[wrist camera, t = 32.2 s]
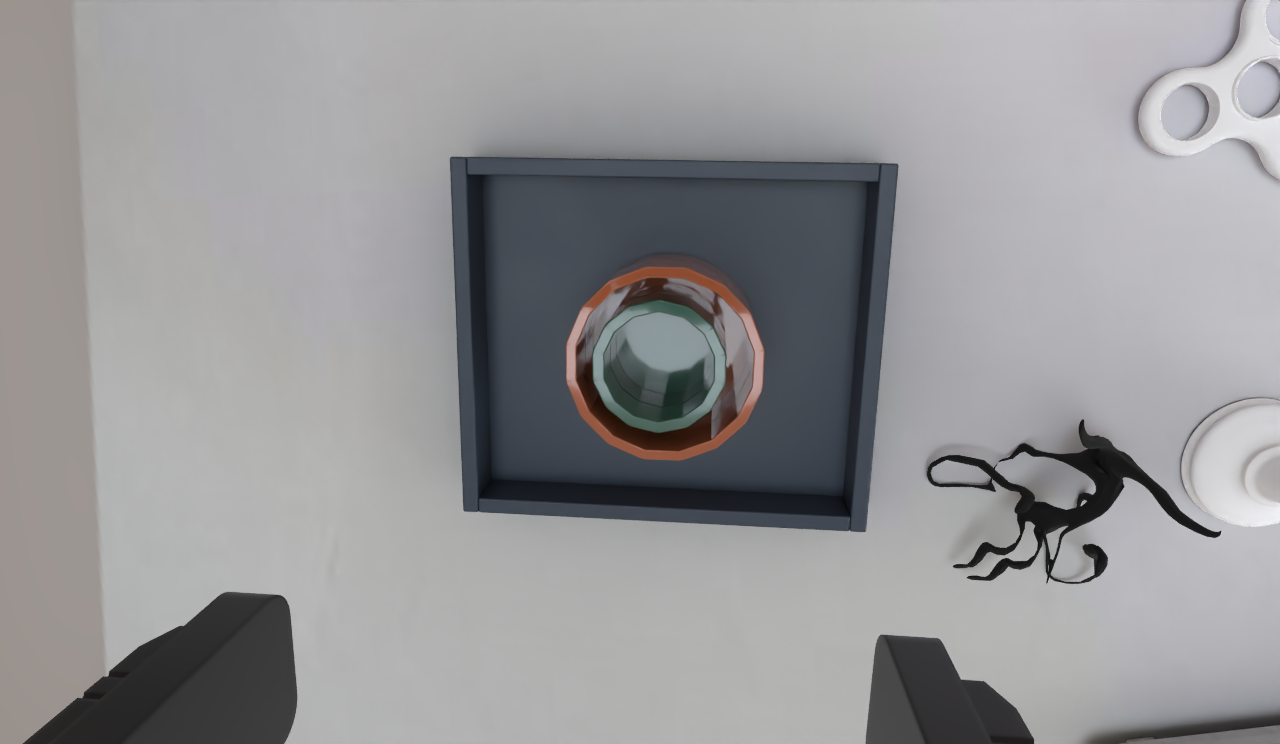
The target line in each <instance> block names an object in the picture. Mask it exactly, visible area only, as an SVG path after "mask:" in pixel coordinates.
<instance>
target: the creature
mask: <svg viewBox="0 0 1280 744" xmlns="http://www.w3.org/2000/svg"><path fill="white" fill-rule="evenodd" d="M1079 436H1080V439H1081V442H1082V444H1083V446H1084V447H1085V448H1088V449H1087V450H1084V451H1082V452H1080V453H1069V454H1053V453H1047V452H1043V451H1039V450H1036V449H1034V448H1033V447H1031V446H1030V445H1027V444H1021V445H1019V447H1018V448H1017V449H1016V450H1015V451H1014V452H1013V454H1012V455H1011V456H1010V457H1008V458H1005V459H1002V460H1000V461H999V462H1001V461H1005V460H1009V459H1013V458H1014V457H1015V456H1017V455H1018V454H1019V453H1021V452H1026V453H1028V454H1030V455H1031V456H1033V457H1049V458H1054V459H1057V460H1059V461H1062V462H1064V463H1067V464H1069V465H1071V466H1073V467H1074V468H1076V469H1078V470H1079V471H1081V472H1083V473H1085V474H1086V475H1088V476H1089V477H1090V478H1091V479H1092V480H1093V481H1094V483H1095V485H1096V492H1095V493H1094V494H1093V495H1091V494H1089V493H1082V494H1080V495H1079V498H1078V500H1077V508H1073V509H1069V510H1065V509H1061V508H1057V507H1054V506H1052V505H1050V504H1048V503H1046V502H1036V501H1034V500H1035V496H1034V494H1033V493H1032V492H1031V491H1029V490H1028V489H1026V488H1025V487H1023V486H1020V485H1016V484H1012V483H1010V482H1008V481H1007V480H1006V479H1005V478H1004V477H1003V476H1002V475H1000V474H999V473H998V472H997V471H996V470H995V467H996V466H997V464H998V463H997V464H996V466H995V467H994V468H993V467H992V466H991V465H989V464H988V463H987V462H986V461H984V460H980V459H975V458H971V457H966V456H961V455H948V456H944V457H941V458H939V459H937V460H935V461H934V462H932V463H931V464H930V465H929V467H928V471H927V477H928V480H929V481H930V483H931V484H933V485H934V486H938V487H975V488H981V489H986V490H991V491H993V492H996V490H995V488H994V486H993V484H992V479H993V480H994V481H995V482H997V483H998V484H999V485H1000V486H1002V487H1004V488H1006V489H1008V490H1010V491H1016V492H1019V493H1020V494H1021V496H1022V497H1021V499H1020V501H1019V502H1018V503H1017V505H1016V507H1015V513H1017V521H1018V524H1019V527H1020V535H1019V537H1018V539H1017V541H1016V543H1014V544H1012V545H1010V546H1009V547H1007V548H999V547H995V546H993V545H991V544H990V543H988V542H985V543H982V544H981V545H980V547H979V548H978V550H977V552H976V554H975V556H974V558H973V559H972V560H971V561H970V562H969V563H968V564H966V565H965V564H956V565H954V566H953V567H954V568H967V567H974V566H975V565H977V564H978V563H979V562H980V561H981V560H982V559H983V558H984V556H985V555H986V554H987V553H988V552H992V553H994V554H997V555H1006V554H1008V553H1010V552H1012V551H1013V550H1015V548H1016V546H1017V545H1018V543H1019V542H1020V540H1021V537H1022V534H1023V532H1024V529H1025V522H1026V521H1031V522H1032V523H1033V524H1034V525H1035V528H1034V534H1035V537H1036V539H1037V541H1038V548H1037V551H1036V553H1035V555H1034V556H1033V557H1031V558H1030V559H1029V560H1028V561H1012V560H1010V559H1009V558H1005V559H1002V560H1001V561H999V562H998V563H997V565H996V566H995V567H994V569H993V570H992V572H991V573H990V574H989V575H988V576H986V577H980V576H968V577H967V578H968V579H971V580H985V581H991V580H993V579H995V578H996V577H997V576H999V575H1000V574H1002V573H1003V572H1004V571H1005V570H1006V568H1007V567H1008V566H1009V567H1011V568H1013V569H1019V570H1021V569H1024V568H1027V567H1030V566H1031V564H1032V563H1033V561H1034V560H1035V559H1036V557H1037V555H1038V553H1039V550H1040V548H1041V547H1042V542H1043V539H1044V542H1045V545H1046V573H1047V575H1048V578H1047V582H1048V580H1049V577H1050V578H1051V579H1052V580H1054V581H1057V582H1062V583H1068V584H1080V583H1085V582H1089V581H1091V580H1092V579H1094V578H1097V577H1098V576H1100V575H1101V574H1102V573H1103V572H1104V570H1105V568H1106V567H1107V562H1108V557H1107V555H1106V554H1105V552H1104V551H1103V550H1102V549H1101V548H1100V547H1099V546H1096V545H1094V544H1088V545H1086V544H1085V545H1083V550H1084V552H1085V554H1086V555H1088V556H1089V557H1091V558H1093V559H1094V571H1095V572H1094V574H1095V575H1093V576H1091V577H1089V578H1087V579H1085V580H1083V581H1081V582H1064V581H1061V580H1058V579H1055V578H1053V577H1052V576H1051V575H1050V574H1051V571H1052V569H1053V566H1054V563H1055V560H1056V558H1057V555H1058V552H1059V549H1060V544H1061V540H1062V537H1063V536H1064V535H1065V534H1066V533H1068V532H1069V531H1071V530H1073V529H1075V528H1077V527H1079V526H1081V525H1084V524H1086V523H1088V522H1090V521H1092V520H1094V519H1096V518H1098V517H1099V516H1101V515H1102V514H1104V513H1105V512H1106V511H1107V510H1108V509H1109V508H1110V507H1111V506H1112V504H1113V503H1114V501H1115V500H1116V499H1117V497H1118V496H1119V494H1120V493H1121V491H1122V490H1123V488H1124V484H1123V478H1124V477H1128V478H1131V479H1133V480H1135V481H1137V482H1139V483H1141V484H1142V485H1144V486H1145V487H1146V488H1147V489H1148V490H1149V491H1150V492H1151V493H1152V495H1153V496H1154V497H1155V499H1156V500H1157V501H1158V503H1159V504H1160V505H1161V507H1162V508H1163V509H1164V510H1165V511H1166V513H1167V514H1168V515H1169V516H1171V517H1172V518H1173V519H1174V520H1175V521H1177V522H1178V523H1179V524H1181V525H1183V526H1185V527H1187V528H1189V529H1191V530H1193V531H1195V532H1197V533H1199V534H1202V535H1204V536H1207V537H1213V538H1216V537H1218V536H1220V534H1221V531H1220V532H1214V531H1211V530H1208V529H1206V528H1205V527H1203V526H1201V525H1199V524H1198V523H1196V522H1195V521H1193V520H1192V519H1190V518H1189V517H1188V516H1186V515H1185V514H1184V513H1182V512H1181V511H1180V510H1179V508H1178V507H1177V506H1176V504H1175V503H1174V501H1173V500H1172V499H1171V497H1170V496H1169V494H1168V493H1167V492H1166V491H1165V490H1164V489H1163V488H1162V487H1161V486H1160V485H1158V484H1157V483H1156V482H1155V481H1154V480H1153V479H1151V478H1150V477H1149V476H1148V475H1147V474H1146V473H1145V472H1144V471H1143V470H1142V469H1141V468H1140V467H1139V466H1138V465H1137V464H1136V463H1135V462H1134V460H1133V459H1132V458H1131V457H1130V456H1129V455H1127V454H1126V453H1124V452H1122V451H1119V450H1117V449H1116V448H1115V447H1114V446H1113V445H1112V443H1111V442H1110V441H1109V440H1108V439H1106V438H1104V437H1100V436H1098V435H1097V436H1090V435H1088V434H1087V432H1086V430H1085V427H1084V420H1081V422H1080V424H1079ZM945 460H950V461H954V462H959V463H964V464H969V465H973V466H978V467H979V468H981V469H982V470H983V471H984V472H986V473H987V474H988V475H989V476H990V477H991V480H990V482H989V483H988V484H987V485H969V484H938V483H936V482H934V481H933V479H932V476H931V470H932V467H934V466H936V465H937V464H939V463H941V462H943V461H945ZM1083 500H1086V501H1087V502H1086V503H1085V504H1084V505H1083V506H1081V503H1082V501H1083ZM1063 526H1068V527H1067V528H1066V529H1065V530H1064V531H1063V532H1062V533H1061V534H1060V537H1059V543H1058V548H1057V551H1056V554H1055V557H1054V559H1053V560H1052V559H1050V552H1049V548H1048V543H1047V538H1046V534H1047V533H1050V532H1053V531H1055V530H1057V529H1058V528H1061V527H1063ZM1048 565H1049V572H1048ZM1047 582H1046V583H1047Z"/></svg>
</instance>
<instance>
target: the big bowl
mask: <svg viewBox="0 0 1280 744" xmlns="http://www.w3.org/2000/svg"><path fill="white" fill-rule="evenodd" d="M657 285H674V286H679V287H683V288H686V289H689V290H691V291H693V292H695V293H696V294H698V295H699V296H701V297H702V298H703V299H705V300H706V301H707V302H708V303H709V304H710V306H711V307H712V308H713V309H714V311H715V312H716V314H717V315H718V317H719V320H720V322H721V325H722V328H723V330H724V332H725V340H726V383H725V386H724V388H723V390H722V392H721V394H720V396H719V397H718V399H717V401H716V403H715V405H714V407H713V409H712V410H711V411H710V412H709V413H707V414H706V415H704V416H703V417H702V418H700V419H699V420H697V421H696V422H695V423H693V424H692V425H691V426H689V427H687V428H683V429H678V430H672V431H667V432H662V433H656V432H652V431H648V430H644V429H640V428H635V427H631V426H630V425H627V424H626V423H625V422H624V421H622V420H621V419H620V418H618V417H617V416H616V415H615V414H613V413H612V412H611V411H610V410H608V409H607V408H606V406H605V405H604V403H603V401H602V399H601V397H600V395H599V393H598V391H597V389H596V387H595V385H594V383H593V379H592V352H593V348H594V346H595V344H596V342H597V340H598V338H599V336H600V334H601V332H602V330H603V328H604V326H605V324H606V323H607V321H608V320H609V319H610V317H611V316H612V314H613V313H614V312H615V310H616V309H617V308H618V306H620V305H621V304H622V303H623V302H624V301H625V300H626V299H628V298H629V297H630V296H632V295H633V294H635V293H636V292H638V291H640V290H642V289H645V288H648V287H651V286H657ZM764 357H765V351H764V346H763V342H762V339H761V335H760V331H759V328H758V325H757V322H756V319H755V317H754V314H753V311H752V308H751V306H750V303H749V300H748V298H747V296H746V294H745V293H744V292H743V291H742V289H741V288H740V287H739V286H738V285H737V283H736V282H735V281H734V280H733V279H732V278H731V277H730V276H729V275H728V274H727V273H725V272H724V271H723V270H722V269H720V268H718V267H717V266H715V265H713V264H711V263H709V262H708V261H705V260H703V259H700V258H697V257H694V256H690V255H685V254H675V253H670V254H655V255H651V256H648V257H645V258H642V259H639V260H637V261H635V262H632V263H630V264H628V265H626V266H623V267H622V268H620V269H619V270H618V271H617V272H616V273H615V274H614V275H613V276H612V277H611V278H610V279H609V280H608V281H607V282H606V283H605V284H604V285H603V286H602V287H601V288H600V289H599V290H598V291H597V292H596V293H595V294H594V295H593V296H592V297H591V298H590V299H589V300H588V301H587V302H586V303H585V304H584V305H583V306H582V307H581V309H580V311H579V313H578V315H577V318H576V320H575V323H574V325H573V327H572V330H571V332H570V335H569V337H568V339H567V342H566V381H567V385H568V387H569V390H570V392H571V395H572V397H573V399H574V402H575V404H576V406H577V409H578V411H579V414H580V416H581V417H582V418H583V419H584V420H585V421H586V422H587V423H588V424H589V425H590V426H591V427H592V428H593V429H594V430H595V431H596V432H597V433H598V434H599V435H600V436H601V437H602V438H603V439H604V440H605V441H606V442H607V443H608V444H610V445H612V446H614V447H617V448H619V449H621V450H623V451H626V452H628V453H630V454H632V455H635V456H637V457H639V458H643V459H654V460H677V461H680V460H684V459H687V458H690V457H693V456H696V455H699V454H702V453H705V452H708V451H711V450H714V449H716V448H718V447H719V446H720V445H721V444H723V443H724V442H725V441H726V440H727V439H728V438H729V437H731V436H732V435H733V434H734V433H735V432H736V431H738V430H739V429H740V428H741V427H742V426H743V425H744V424H745V423H746V422H747V420H748V418H749V416H750V414H751V412H752V410H753V408H754V406H755V404H756V402H757V400H758V398H759V396H760V394H761V392H762V388H763V376H764Z"/></svg>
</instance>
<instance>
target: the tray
mask: <svg viewBox="0 0 1280 744" xmlns="http://www.w3.org/2000/svg"><path fill="white" fill-rule="evenodd" d="M450 171H451V197H452V223H453V249H454V275H455V301H456V327H457V353H458V379H459V405H460V431H461V457H462V483H463V509H464V511H468V512H478V511H479V512H487V513H507V514H526V515H545V516H565V517H584V518H603V519H623V520H642V521H662V522H681V523H700V524H720V525H739V526H758V527H778V528H797V529H817V530H836V531H849V529H850V531H855V532H865V531H866V525H867V514H868V502H869V491H870V480H871V469H872V457H873V446H874V435H875V424H876V412H877V401H878V390H879V379H880V367H881V356H882V345H883V334H884V322H885V311H886V300H887V289H888V277H889V266H890V255H891V244H892V232H893V221H894V210H895V199H896V187H897V176H898V164H888V163H880V164H879V163H824V162H759V161H695V160H630V159H566V158H501V157H451V158H450ZM670 253H675V254H685V255H690V256H694V257H697V258H700V259H703V260H705V261H708V262H709V263H711V264H713V265H715V266H717V267H718V268H720V269H722V270H723V271H724V272H725V273H727V274H728V275H729V276H730V277H731V278H732V279H733V280H734V281H735V282H736V283H737V285H738V286H739V287H740V288H741V289H742V291H743V292H744V293H745V294H746V296H747V298H748V300H749V303H750V306H751V308H752V311H753V314H754V317H755V319H756V322H757V325H758V328H759V331H760V335H761V339H762V342H763V346H764V351H765V357H764V376H763V388H762V392H761V394H760V396H759V398H758V400H757V402H756V404H755V406H754V408H753V410H752V412H751V414H750V416H749V418H748V420H747V422H746V423H745V424H744V425H743V426H742V427H741V428H740V429H739V430H738V431H736V432H735V433H734V434H733V435H732V436H731V437H729V438H728V439H727V440H726V441H725V442H724V443H723V444H721V445H720V446H719V447H718V448H716V449H714V450H711V451H708V452H705V453H702V454H699V455H696V456H693V457H690V458H687V459H684V460H680V461H677V460H654V459H643V458H639V457H637V456H635V455H632V454H630V453H628V452H626V451H623V450H621V449H619V448H617V447H614V446H612V445H610V444H608V443H607V442H606V441H605V440H604V439H603V438H602V437H601V436H600V435H599V434H598V433H597V432H596V431H595V430H594V429H593V428H592V427H591V426H590V425H589V424H588V423H587V422H586V421H585V420H584V419H583V418H582V417H581V416H580V414H579V411H578V409H577V406H576V404H575V402H574V399H573V397H572V395H571V392H570V390H569V387H568V385H567V381H566V342H567V339H568V337H569V335H570V332H571V330H572V327H573V325H574V323H575V320H576V318H577V315H578V313H579V311H580V309H581V307H582V306H583V305H584V304H585V303H586V302H587V301H588V300H589V299H590V298H591V297H592V296H593V295H594V294H595V293H596V292H597V291H598V290H599V289H600V288H601V287H602V286H603V285H604V284H605V283H606V282H607V281H608V280H609V279H610V278H611V277H612V276H613V275H614V274H615V273H616V272H617V271H618V270H619V269H620V268H622V267H623V266H626V265H628V264H630V263H632V262H635V261H637V260H639V259H642V258H645V257H648V256H651V255H655V254H670Z"/></svg>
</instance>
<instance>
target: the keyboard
mask: <svg viewBox="0 0 1280 744" xmlns="http://www.w3.org/2000/svg"><path fill="white" fill-rule="evenodd" d="M1126 741H1127V743H1120V744H1280V725H1276V726H1267V727H1258V728H1250V729H1241V730H1232V731H1224V732H1215V733H1206V734H1198V735H1189V736H1180V737H1172V738H1163V739H1154V738H1153V737H1147V738H1139V739H1131V740H1126Z"/></svg>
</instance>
